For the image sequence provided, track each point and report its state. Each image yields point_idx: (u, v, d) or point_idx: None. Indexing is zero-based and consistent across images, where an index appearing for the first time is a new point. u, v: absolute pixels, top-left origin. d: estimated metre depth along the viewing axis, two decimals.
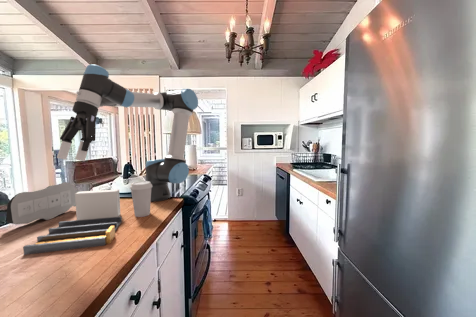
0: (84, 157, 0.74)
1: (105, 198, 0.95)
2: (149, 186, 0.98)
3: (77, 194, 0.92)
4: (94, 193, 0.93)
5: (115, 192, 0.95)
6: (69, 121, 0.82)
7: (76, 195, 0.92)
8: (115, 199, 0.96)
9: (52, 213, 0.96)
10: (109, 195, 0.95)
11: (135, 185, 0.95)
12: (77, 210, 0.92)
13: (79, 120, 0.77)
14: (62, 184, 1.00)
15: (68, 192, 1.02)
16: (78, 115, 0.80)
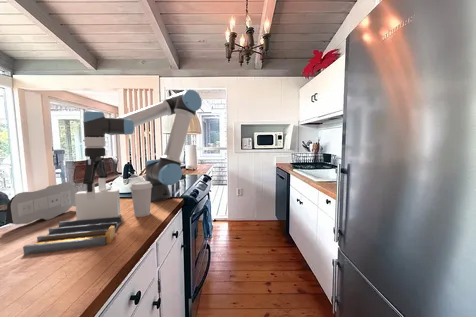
0: (93, 196, 0.88)
1: (105, 198, 0.95)
2: (149, 186, 0.98)
3: (77, 194, 0.92)
4: None
5: (115, 192, 0.95)
6: None
7: (76, 195, 0.92)
8: (115, 199, 0.96)
9: (52, 213, 0.96)
10: (109, 195, 0.95)
11: (135, 185, 0.95)
12: (77, 210, 0.92)
13: None
14: (62, 184, 1.00)
15: (68, 192, 1.02)
16: None
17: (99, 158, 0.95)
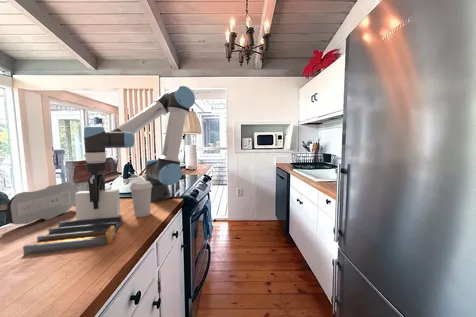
0: (99, 213, 0.94)
1: (105, 197, 0.95)
2: (149, 186, 0.98)
3: (77, 194, 0.92)
4: None
5: (115, 192, 0.95)
6: None
7: (76, 195, 0.92)
8: (115, 199, 0.96)
9: (52, 213, 0.96)
10: (109, 194, 0.95)
11: (135, 185, 0.95)
12: (77, 210, 0.92)
13: None
14: (62, 184, 1.00)
15: (68, 192, 1.02)
16: None
17: (100, 170, 0.97)
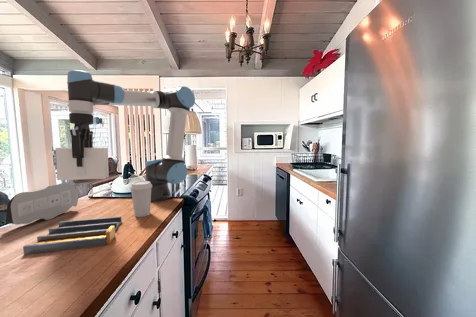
0: (83, 172, 0.81)
1: (90, 155, 0.82)
2: (149, 186, 0.98)
3: (58, 148, 0.79)
4: None
5: (102, 149, 0.83)
6: None
7: (57, 149, 0.79)
8: (102, 157, 0.83)
9: (52, 213, 0.96)
10: (95, 151, 0.82)
11: (135, 185, 0.95)
12: (58, 167, 0.80)
13: None
14: (62, 184, 1.00)
15: (68, 192, 1.02)
16: None
17: (87, 125, 0.84)
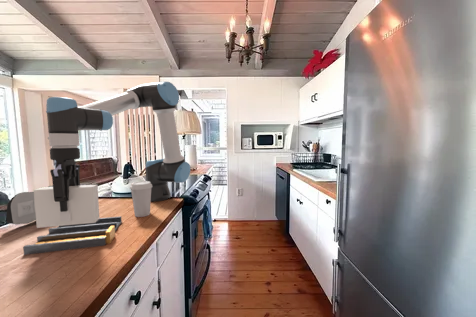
0: (68, 216, 0.68)
1: (77, 196, 0.69)
2: (149, 186, 0.98)
3: (37, 191, 0.66)
4: None
5: (91, 188, 0.70)
6: None
7: (35, 192, 0.66)
8: (91, 198, 0.70)
9: None
10: (83, 191, 0.70)
11: (135, 185, 0.95)
12: (37, 213, 0.67)
13: None
14: None
15: None
16: None
17: (72, 159, 0.71)
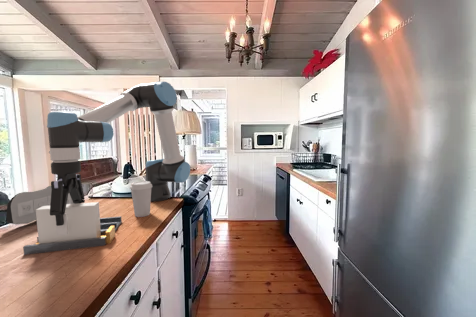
0: (65, 230, 0.66)
1: (78, 214, 0.70)
2: (149, 186, 0.98)
3: (39, 210, 0.67)
4: None
5: (92, 207, 0.71)
6: None
7: (38, 212, 0.67)
8: (92, 216, 0.71)
9: None
10: (84, 210, 0.70)
11: (135, 185, 0.95)
12: (39, 232, 0.67)
13: None
14: None
15: None
16: None
17: (73, 174, 0.71)
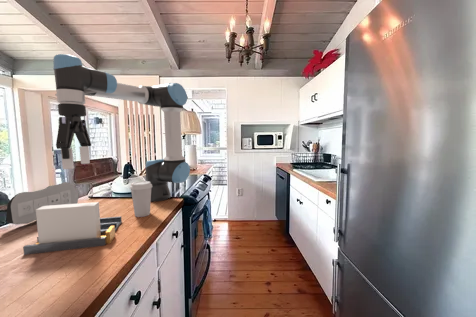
0: (71, 165, 0.69)
1: (78, 214, 0.70)
2: (149, 186, 0.98)
3: (39, 210, 0.67)
4: (63, 208, 0.69)
5: (92, 207, 0.71)
6: None
7: (38, 211, 0.67)
8: (92, 216, 0.71)
9: None
10: (84, 210, 0.70)
11: (135, 185, 0.95)
12: (39, 232, 0.67)
13: None
14: (62, 184, 1.00)
15: (68, 192, 1.02)
16: None
17: (78, 119, 0.75)
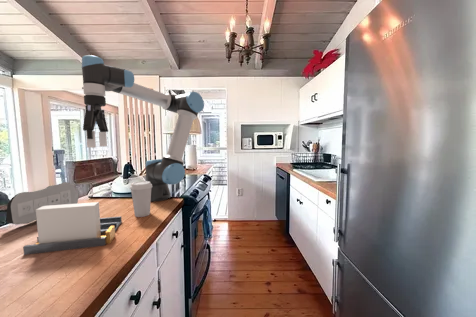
0: (93, 144, 0.84)
1: (78, 214, 0.70)
2: (149, 186, 0.98)
3: (39, 210, 0.67)
4: (63, 208, 0.69)
5: (92, 207, 0.71)
6: None
7: (38, 211, 0.67)
8: (92, 216, 0.71)
9: None
10: (84, 210, 0.70)
11: (135, 185, 0.95)
12: (39, 232, 0.67)
13: None
14: (62, 184, 1.00)
15: (68, 192, 1.02)
16: None
17: (99, 108, 0.91)
